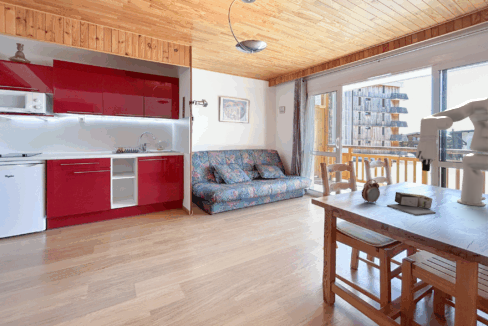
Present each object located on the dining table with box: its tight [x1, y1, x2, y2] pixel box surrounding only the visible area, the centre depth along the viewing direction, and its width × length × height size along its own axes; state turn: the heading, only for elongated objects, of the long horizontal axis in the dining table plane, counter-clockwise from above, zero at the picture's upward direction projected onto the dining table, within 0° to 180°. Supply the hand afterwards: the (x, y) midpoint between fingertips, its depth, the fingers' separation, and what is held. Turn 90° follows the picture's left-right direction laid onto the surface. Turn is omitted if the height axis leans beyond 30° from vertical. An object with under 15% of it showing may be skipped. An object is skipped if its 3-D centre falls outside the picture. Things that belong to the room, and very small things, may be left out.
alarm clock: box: [361, 179, 381, 203], centre depth 148 cm, size 11×5×15 cm, turn 105°
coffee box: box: [394, 191, 434, 210], centre depth 141 cm, size 9×6×16 cm
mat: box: [386, 203, 436, 216], centre depth 135 cm, size 14×18×1 cm
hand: (425, 170), depth 135 cm, fingers closed
